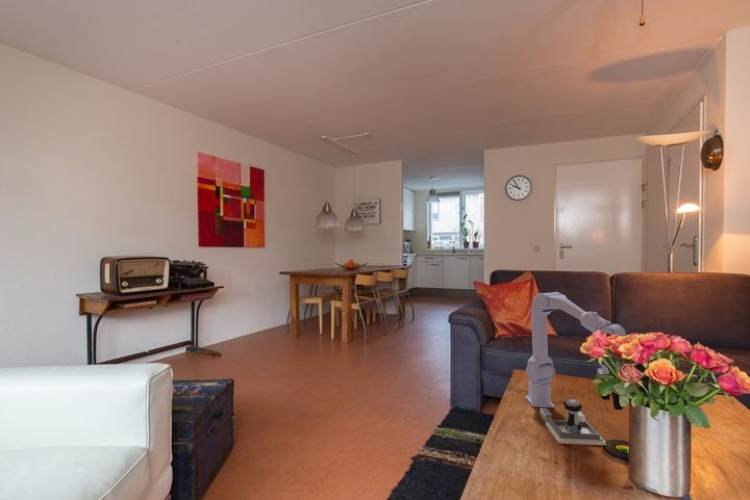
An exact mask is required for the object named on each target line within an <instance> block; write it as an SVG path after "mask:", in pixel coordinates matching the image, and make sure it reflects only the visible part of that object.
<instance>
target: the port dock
mask: <svg viewBox="0 0 750 500" xmlns="http://www.w3.org/2000/svg"><path fill="white" fill-rule="evenodd" d="M565 421H567V419H566V420H565V419H552V420H550V422H546V423H545V426H546V427H547V429H548V431H549V432H550V433H551V435H552V437H553V438H554V439H555V440H556V442H557V443H558V444H565V445H566V444H567V445H594V446H607V444H606V443H607V442H606V441H605V440H604V438H603V437H601V435H600V433H599V432H598V431H597V430H596V429H595V428H594V427H593V426H592V425H591V424H590V423H589V422H588V421H587V420H585V421H578V424H579V425H581V431H583V432H584V433H581V432H580V433H572V432H569V431H568V430H567V429H565Z"/></svg>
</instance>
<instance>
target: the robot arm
mask: <svg viewBox="0 0 750 500" xmlns="http://www.w3.org/2000/svg"><path fill="white" fill-rule="evenodd" d="M556 310H561V311H563V312H565V313H567V314H569V315H571V316H572V317H573V318H576V319H577V320H579V322H580V325H581V326H582V327H584V328H585V329H587V330H588V331H590V332H591V333H593V334H594V332H595V331H597V330H600V331H601V332H603V333H609V334H617V335H619V336H626V335H627V332H626V329H625V328H624V327H623V326H622V325H621V324H619V323H611V321H610V320H606V319H605V318H603V317H601V316H600V315H599V313H598V312H596V311H585V310H583V309H582V308H581V307H579V306H578V305H577V304H575V303H574V302H573V301H571V300H570V299H569V298H567V296H566V295H564V294H562V293H561V292H558V291H554V292H544V293H542V292H539V293H537V294H536V295H535V296H533V297H532V307H531V311H530V313H531V314H530V316H531V317H530V318H531V344H532V356H531V357H530V358H528V360H527V366H526V368H525V373H526V376H527V378H528V395H526V396H525V397H526V400H528V402H529V404H530V405H531V406H532V407H533V408H553V409H554V408H555V405H554V404H553V403H552V400H551V398H552V397H551V395H552V393H551V387H552V386H551V385H552V384H551V382H552V380H553V378H554V377H555V374H556V370H555V367H554V364H553V363H554V361H553V360H552V358H550V357H549V348H548V347H549V346H548V345H549V343H548V319H547V317H548V315H549V314H551V313H552V312H553V311H556ZM626 337H627V336H626ZM596 370H597V375H598V374H609V370H608V368H607V367H606V366H605V365H603V364H602V363H601V368H597V369H596ZM600 396H601V395H600ZM611 397H612V404H613V408H614V410H616V411H618V410H619V411H622V410H623V408H624V406H623V407H621V406H620V404H619V395H618V394H616V393H614V392H612V393H610V394H609V395H607V396H601V397H600V398H601V400H602V401H603V400H605V401H607V400H608V401H609V400H610V399H611Z"/></svg>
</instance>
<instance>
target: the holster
mask: <svg viewBox="0 0 750 500" xmlns="http://www.w3.org/2000/svg"><path fill="white" fill-rule="evenodd" d="M539 409H540V412H539V413H540V414H539V415H540V418H541V419H542V420H543V422H544V423H545V424H546V422H550V420H553V415H552V413H551V412H550V411H549V410H548V407H539ZM578 421H586V415H585V414H583V412H582V410H581V411H579V412H578Z"/></svg>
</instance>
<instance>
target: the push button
mask: <svg viewBox="0 0 750 500" xmlns="http://www.w3.org/2000/svg"><path fill="white" fill-rule="evenodd" d="M563 406H564V409H566V411H567V412H566V417H567V418H566V420H567V421H565V429H567V430H568V431H569V432H572V433H580V432H581V433H584V432H583V431H581V425H579V424H578V412H579V411H581V412H582V406H583V405H582V404H581V403H580V401H578V400H577V399H574V398H567V399H566V400H565V401H563Z"/></svg>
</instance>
